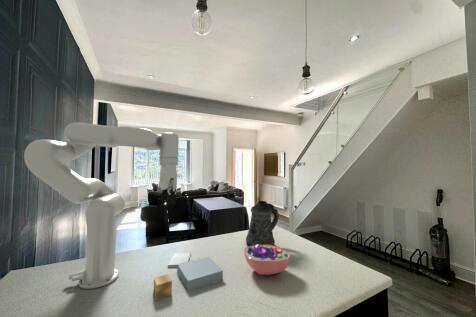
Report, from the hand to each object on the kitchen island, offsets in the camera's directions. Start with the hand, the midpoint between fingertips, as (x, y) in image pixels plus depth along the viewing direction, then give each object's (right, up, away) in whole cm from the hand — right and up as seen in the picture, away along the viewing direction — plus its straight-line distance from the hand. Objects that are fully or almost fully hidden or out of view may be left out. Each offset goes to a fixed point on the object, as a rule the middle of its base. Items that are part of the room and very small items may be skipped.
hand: (168, 202), depth 82 cm
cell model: (+42, -30, +2) cm, 51 cm away
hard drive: (+2, -30, +10) cm, 32 cm away
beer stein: (+43, -32, +31) cm, 62 cm away
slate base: (+14, -30, -3) cm, 33 cm away
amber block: (+3, -29, -14) cm, 32 cm away
